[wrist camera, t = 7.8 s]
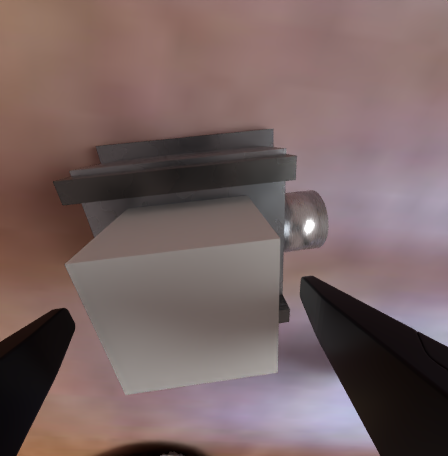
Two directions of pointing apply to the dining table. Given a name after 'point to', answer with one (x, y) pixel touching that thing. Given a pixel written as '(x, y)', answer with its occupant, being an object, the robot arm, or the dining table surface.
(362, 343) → the robot arm
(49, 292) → the dining table surface
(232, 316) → the plain white cube
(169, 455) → the food plate
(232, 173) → the motor housing
